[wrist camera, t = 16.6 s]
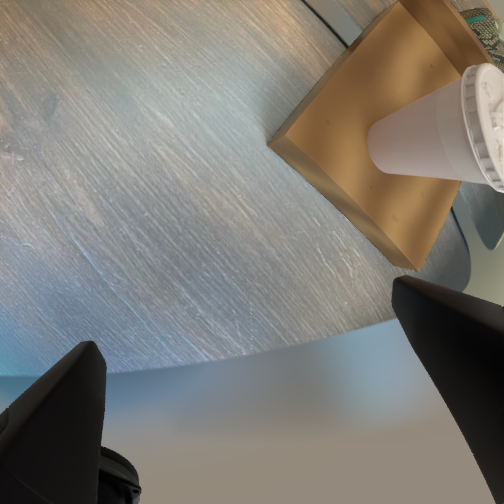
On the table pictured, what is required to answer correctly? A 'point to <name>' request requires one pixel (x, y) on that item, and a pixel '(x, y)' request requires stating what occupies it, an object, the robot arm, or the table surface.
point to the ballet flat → (487, 33)
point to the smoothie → (447, 132)
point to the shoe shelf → (374, 109)
